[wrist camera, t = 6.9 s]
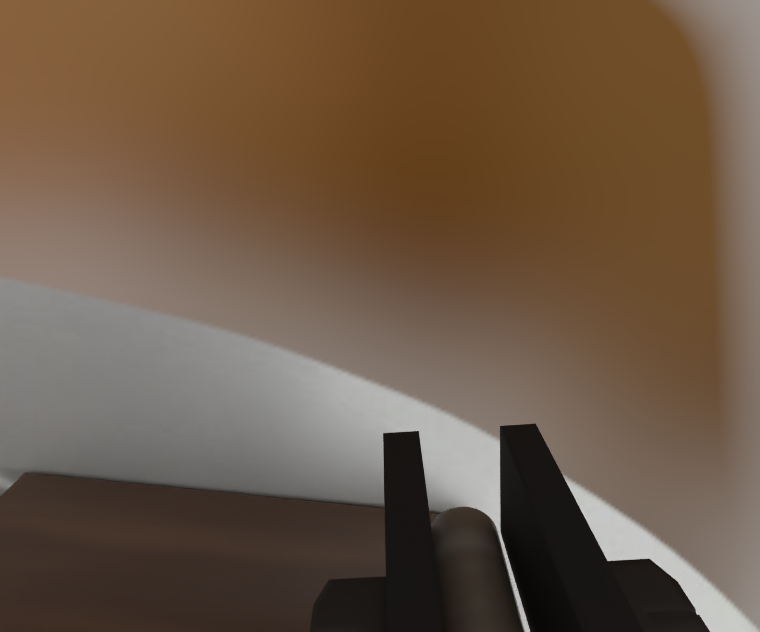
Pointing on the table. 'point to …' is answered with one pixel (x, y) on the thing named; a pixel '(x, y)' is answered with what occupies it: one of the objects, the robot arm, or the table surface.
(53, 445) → the table surface
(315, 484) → the table surface
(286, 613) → the cupboard door
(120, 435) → the table surface
